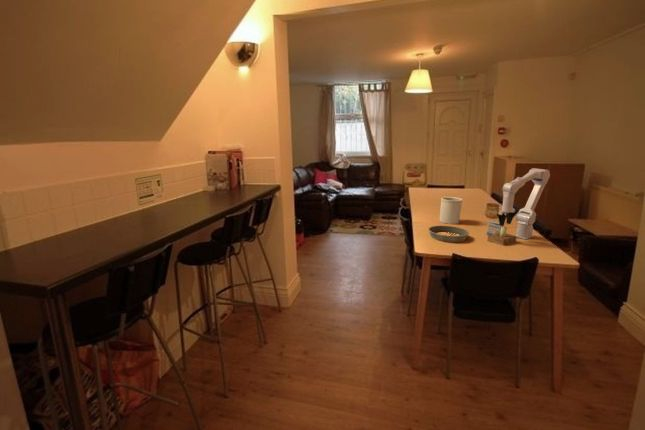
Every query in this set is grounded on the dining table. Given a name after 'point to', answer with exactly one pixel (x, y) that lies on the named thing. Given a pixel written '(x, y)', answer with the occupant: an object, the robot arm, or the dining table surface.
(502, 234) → the peg
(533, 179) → the robot arm
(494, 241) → the hole block
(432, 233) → the cake pan
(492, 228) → the medicine box
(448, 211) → the utensil holder
